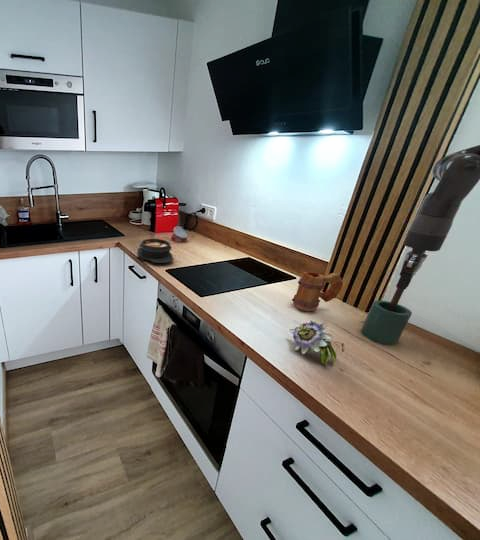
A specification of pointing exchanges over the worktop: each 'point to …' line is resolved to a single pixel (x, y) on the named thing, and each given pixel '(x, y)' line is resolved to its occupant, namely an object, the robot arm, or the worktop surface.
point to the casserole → (155, 250)
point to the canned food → (179, 235)
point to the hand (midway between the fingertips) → (401, 287)
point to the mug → (315, 290)
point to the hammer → (395, 298)
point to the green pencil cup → (385, 323)
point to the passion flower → (314, 340)
